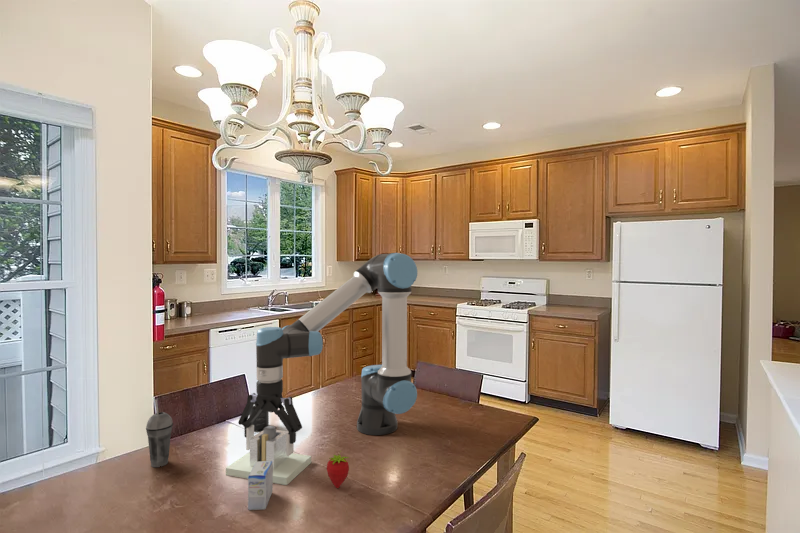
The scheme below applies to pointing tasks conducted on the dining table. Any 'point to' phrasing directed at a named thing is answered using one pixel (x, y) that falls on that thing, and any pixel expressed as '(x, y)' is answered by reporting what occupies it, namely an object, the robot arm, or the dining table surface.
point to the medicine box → (260, 485)
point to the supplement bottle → (260, 419)
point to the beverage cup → (159, 437)
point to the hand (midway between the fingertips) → (269, 451)
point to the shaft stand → (280, 474)
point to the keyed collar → (269, 449)
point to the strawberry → (337, 470)
